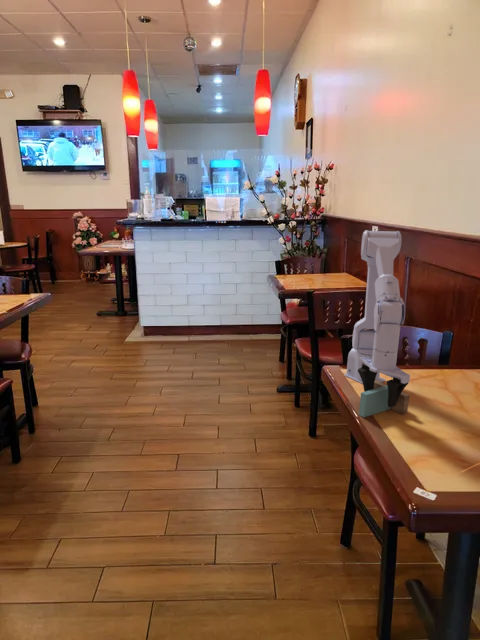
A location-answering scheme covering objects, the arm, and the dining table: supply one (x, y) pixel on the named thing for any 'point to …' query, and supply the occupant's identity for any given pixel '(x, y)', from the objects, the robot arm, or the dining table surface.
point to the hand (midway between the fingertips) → (379, 400)
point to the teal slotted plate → (374, 401)
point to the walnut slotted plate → (402, 400)
